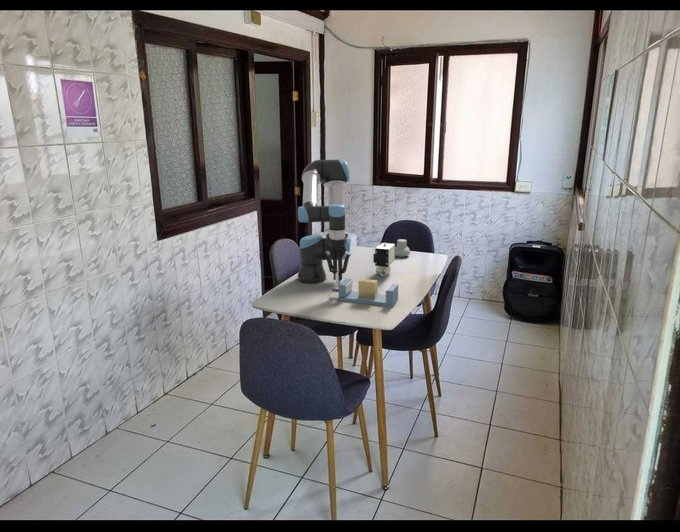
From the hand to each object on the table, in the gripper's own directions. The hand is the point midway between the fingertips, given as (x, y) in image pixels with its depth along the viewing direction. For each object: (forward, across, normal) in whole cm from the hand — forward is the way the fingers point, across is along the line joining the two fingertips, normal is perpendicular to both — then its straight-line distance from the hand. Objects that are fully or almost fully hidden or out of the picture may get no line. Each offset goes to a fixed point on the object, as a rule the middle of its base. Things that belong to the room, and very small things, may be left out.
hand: (338, 286), depth 232 cm
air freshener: (+5, +10, +82) cm, 83 cm away
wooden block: (+4, +15, 0) cm, 15 cm away
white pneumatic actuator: (+5, +11, +41) cm, 43 cm away
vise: (+5, +15, 0) cm, 16 cm away
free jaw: (+3, +1, 0) cm, 4 cm away
